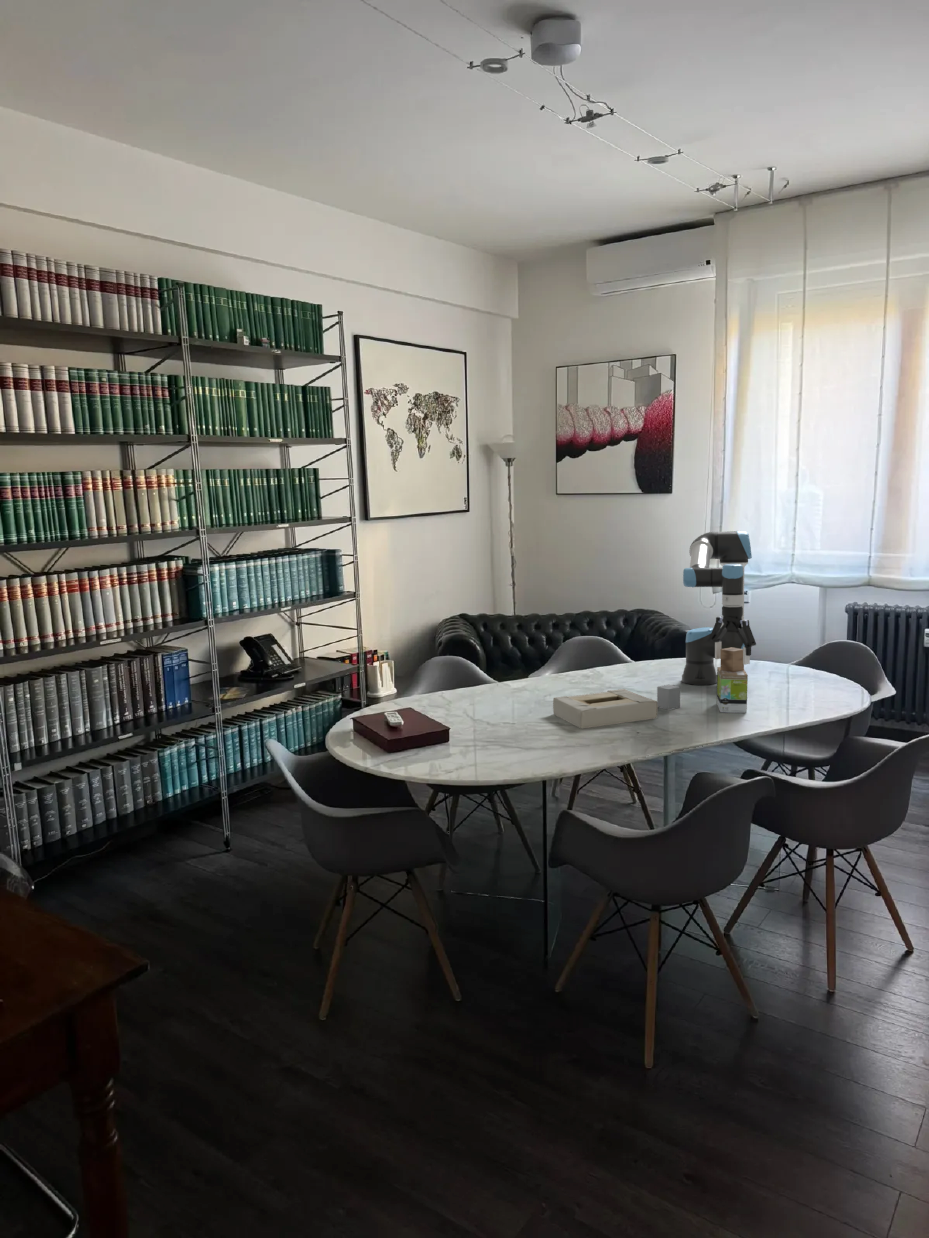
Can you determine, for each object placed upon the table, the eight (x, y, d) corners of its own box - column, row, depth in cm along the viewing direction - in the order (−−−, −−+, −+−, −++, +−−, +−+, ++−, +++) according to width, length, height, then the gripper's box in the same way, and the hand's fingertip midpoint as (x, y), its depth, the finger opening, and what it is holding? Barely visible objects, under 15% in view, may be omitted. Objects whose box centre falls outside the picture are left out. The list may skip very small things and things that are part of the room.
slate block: (657, 706, 331) (657, 686, 330) (668, 704, 335) (668, 684, 333) (668, 709, 326) (668, 689, 325) (679, 707, 329) (679, 687, 328)
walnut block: (720, 669, 325) (720, 649, 323) (731, 667, 328) (731, 647, 327) (732, 672, 319) (733, 651, 318) (743, 670, 323) (744, 649, 321)
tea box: (747, 713, 317) (748, 674, 315) (719, 713, 319) (719, 674, 317) (742, 703, 332) (743, 666, 330) (716, 703, 334) (716, 666, 332)
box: (581, 730, 304) (658, 719, 315) (580, 709, 303) (658, 698, 314) (552, 717, 326) (625, 706, 337) (551, 697, 325) (625, 687, 336)
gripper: (700, 603, 329) (700, 657, 332) (752, 609, 308) (751, 667, 311) (714, 601, 333) (713, 655, 336) (766, 607, 311) (765, 664, 314)
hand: (732, 661), depth 323 cm, fingers open, 13 cm apart
